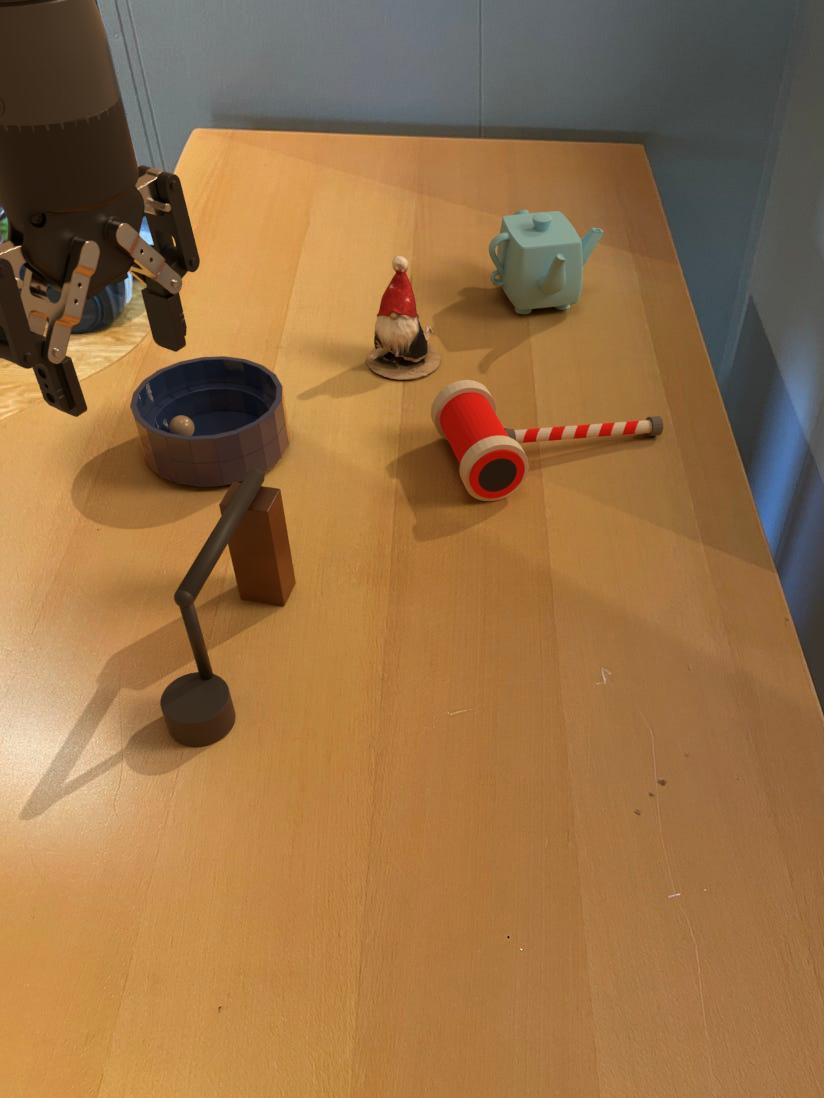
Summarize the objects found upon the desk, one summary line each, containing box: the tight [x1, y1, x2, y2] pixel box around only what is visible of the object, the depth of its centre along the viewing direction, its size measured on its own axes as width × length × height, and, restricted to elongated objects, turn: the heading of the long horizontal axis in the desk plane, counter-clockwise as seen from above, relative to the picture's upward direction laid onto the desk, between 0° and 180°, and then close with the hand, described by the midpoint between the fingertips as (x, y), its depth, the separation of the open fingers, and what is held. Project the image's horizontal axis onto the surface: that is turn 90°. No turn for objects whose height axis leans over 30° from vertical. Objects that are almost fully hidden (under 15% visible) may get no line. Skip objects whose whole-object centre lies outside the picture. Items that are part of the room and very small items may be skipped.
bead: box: [169, 415, 195, 436], centre depth 96 cm, size 2×2×2 cm
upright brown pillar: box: [218, 482, 297, 607], centre depth 79 cm, size 4×3×10 cm
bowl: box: [129, 355, 290, 488], centre depth 95 cm, size 14×14×6 cm
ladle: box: [159, 469, 265, 748], centre depth 74 cm, size 19×5×12 cm, turn 168°
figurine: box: [366, 255, 442, 381], centre depth 107 cm, size 8×10×12 cm
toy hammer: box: [430, 379, 664, 502], centre depth 95 cm, size 23×12×6 cm, turn 108°
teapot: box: [488, 209, 604, 315], centre depth 116 cm, size 18×14×10 cm
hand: (123, 377), depth 60 cm, fingers open, 8 cm apart
